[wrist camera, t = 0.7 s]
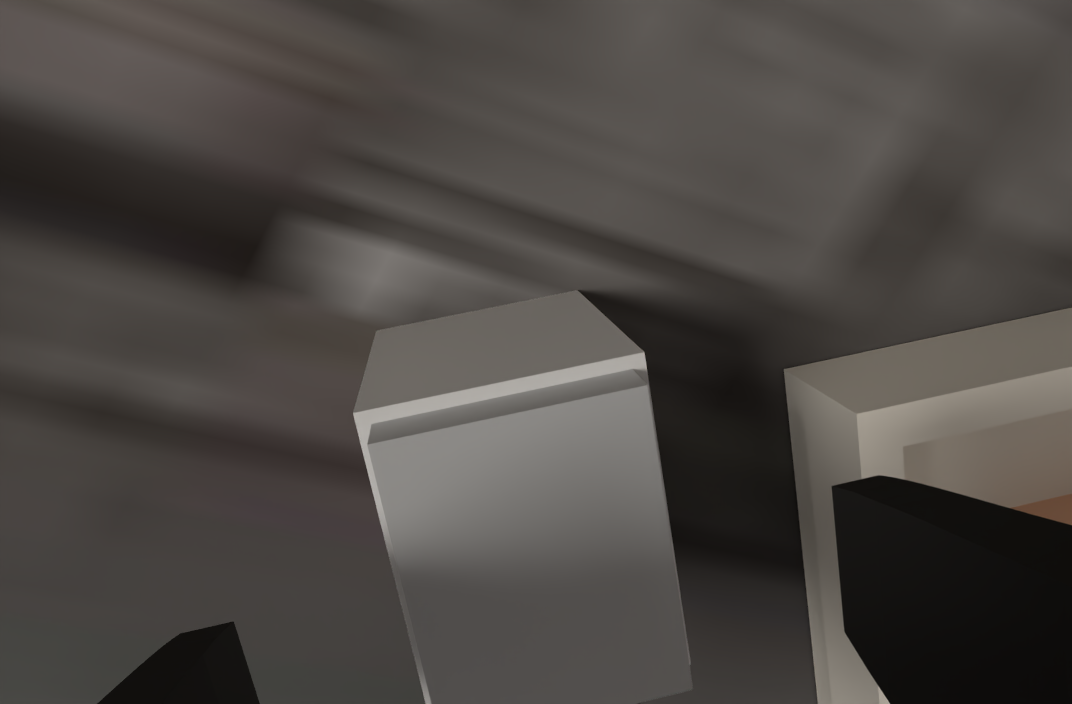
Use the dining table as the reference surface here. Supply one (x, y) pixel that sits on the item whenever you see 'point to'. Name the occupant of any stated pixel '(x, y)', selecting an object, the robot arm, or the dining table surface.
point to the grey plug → (525, 506)
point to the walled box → (926, 447)
